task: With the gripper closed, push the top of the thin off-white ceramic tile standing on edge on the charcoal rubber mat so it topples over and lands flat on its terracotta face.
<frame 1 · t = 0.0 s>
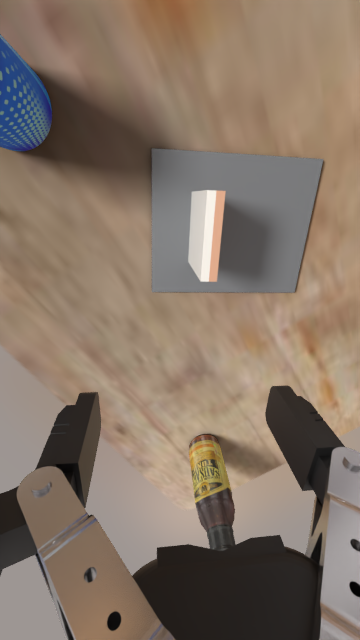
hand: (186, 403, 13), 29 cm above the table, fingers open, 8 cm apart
tile: (196, 228, 37), point 1 cm above the table, touching mat
beer can: (16, 109, 31), on the table
sauce bottle: (202, 443, 55), on the table
mat: (231, 229, 38), on the table
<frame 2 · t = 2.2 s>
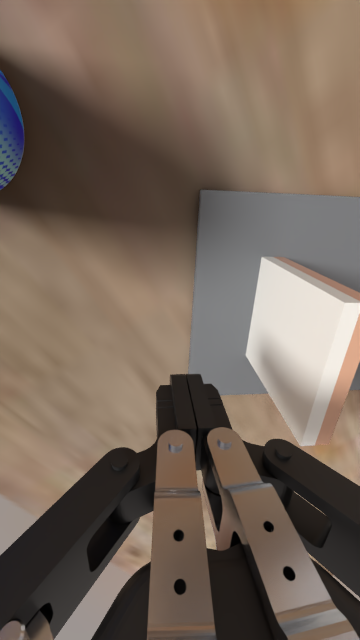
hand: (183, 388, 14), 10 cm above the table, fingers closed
tile: (263, 309, 23), point 1 cm above the table, touching mat
mat: (314, 307, 25), on the table
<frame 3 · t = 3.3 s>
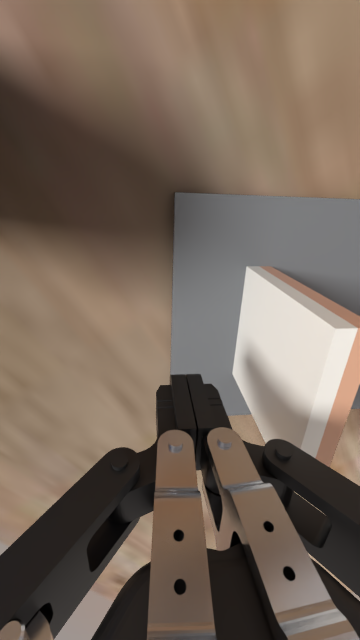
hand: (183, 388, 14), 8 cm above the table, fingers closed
tile: (250, 324, 21), point 1 cm above the table, touching mat
mat: (307, 320, 22), on the table
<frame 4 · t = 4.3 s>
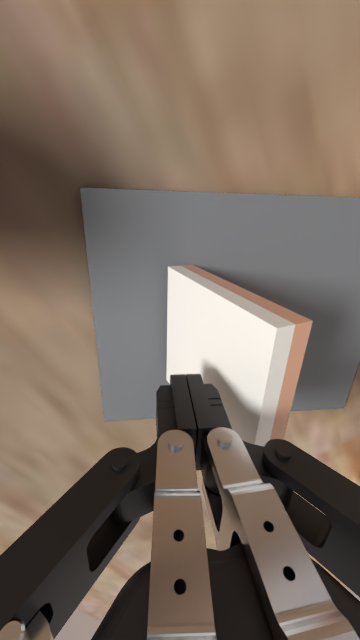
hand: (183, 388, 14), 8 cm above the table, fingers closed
tile: (178, 326, 20), point 1 cm above the table, tilted 19°, touching mat
mat: (239, 320, 22), on the table
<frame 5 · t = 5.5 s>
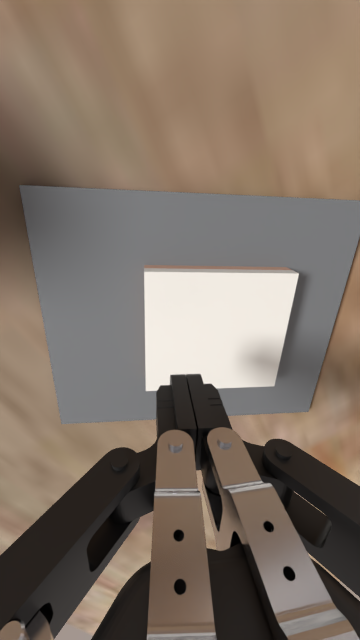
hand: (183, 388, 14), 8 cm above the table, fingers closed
tile: (145, 331, 19), point 1 cm above the table, tilted 90°, touching mat
mat: (196, 322, 21), on the table
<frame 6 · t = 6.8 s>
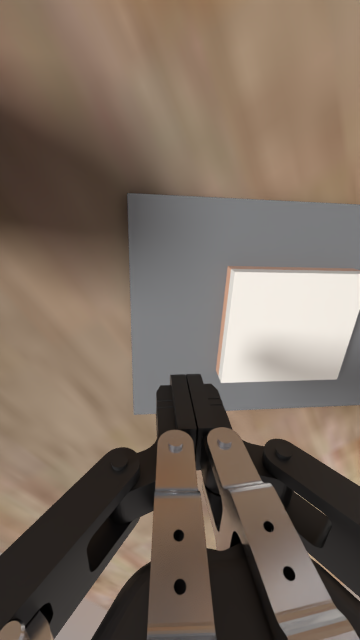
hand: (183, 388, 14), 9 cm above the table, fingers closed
tile: (224, 327, 21), point 1 cm above the table, tilted 90°, touching mat
mat: (265, 319, 23), on the table
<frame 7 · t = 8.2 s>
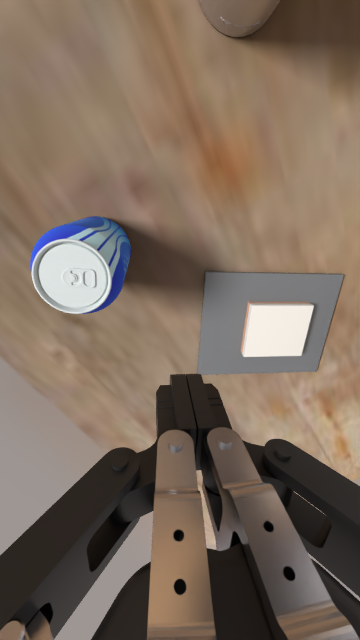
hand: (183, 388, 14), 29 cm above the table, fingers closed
tile: (245, 329, 44), point 1 cm above the table, tilted 90°, touching mat
beer can: (101, 247, 38), on the table
mat: (265, 325, 46), on the table
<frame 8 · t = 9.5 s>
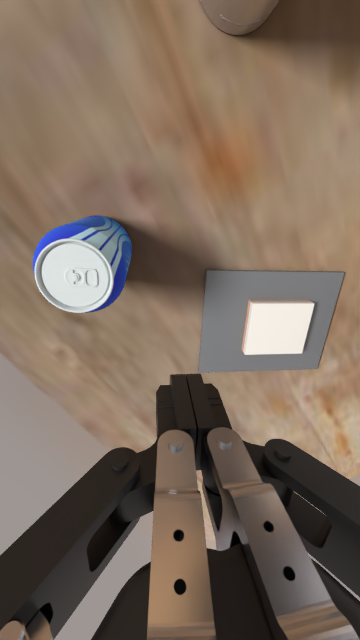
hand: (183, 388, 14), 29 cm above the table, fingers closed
tile: (246, 327, 44), point 1 cm above the table, tilted 90°, touching mat
beer can: (102, 246, 39), on the table
mat: (266, 323, 46), on the table
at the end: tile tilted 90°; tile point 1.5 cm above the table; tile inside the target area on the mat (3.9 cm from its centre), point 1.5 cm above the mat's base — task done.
